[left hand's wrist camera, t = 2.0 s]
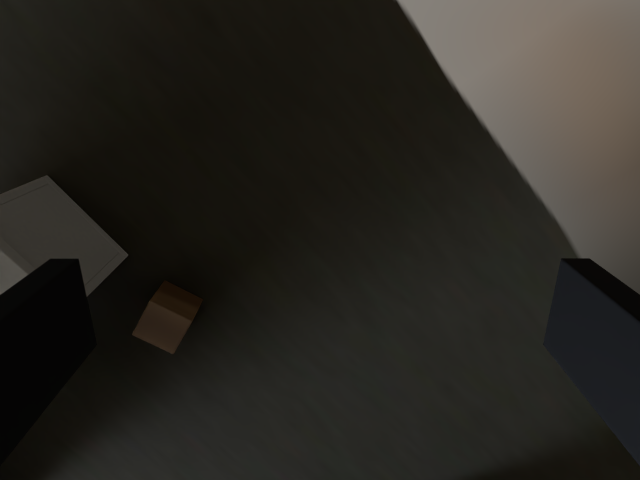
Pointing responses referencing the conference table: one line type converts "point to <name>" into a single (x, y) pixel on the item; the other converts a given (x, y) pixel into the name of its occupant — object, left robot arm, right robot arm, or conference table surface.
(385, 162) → the conference table surface
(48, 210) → the chest
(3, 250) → the lid
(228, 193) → the conference table surface
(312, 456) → the conference table surface
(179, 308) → the block
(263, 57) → the conference table surface
